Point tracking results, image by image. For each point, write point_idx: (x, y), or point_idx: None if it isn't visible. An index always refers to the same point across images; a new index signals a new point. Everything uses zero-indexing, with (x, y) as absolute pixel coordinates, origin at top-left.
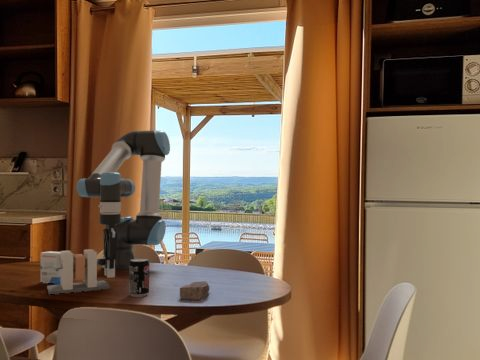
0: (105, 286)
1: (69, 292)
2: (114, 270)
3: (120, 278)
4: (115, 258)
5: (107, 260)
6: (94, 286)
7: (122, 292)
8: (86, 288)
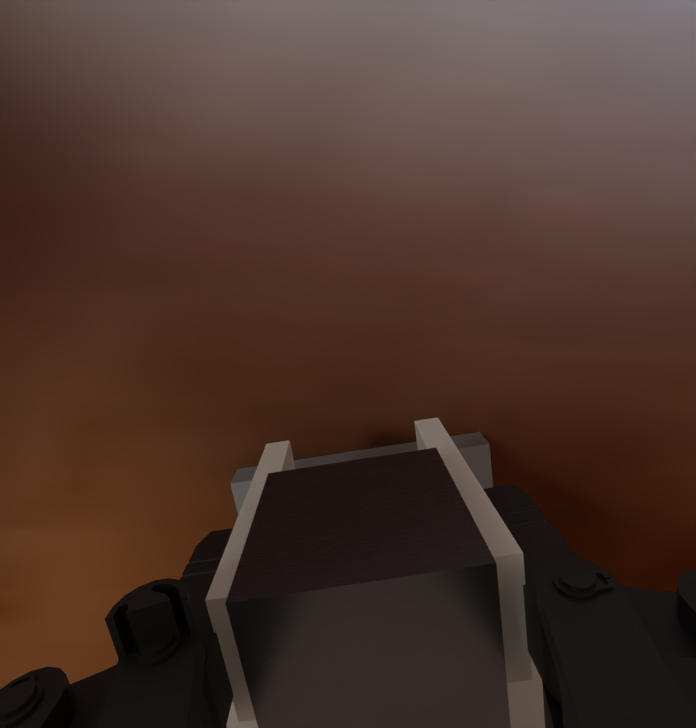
0: (490, 474)
1: None
2: (461, 456)
3: (19, 308)
4: (484, 552)
5: (523, 670)
6: None
7: (666, 332)
8: None
